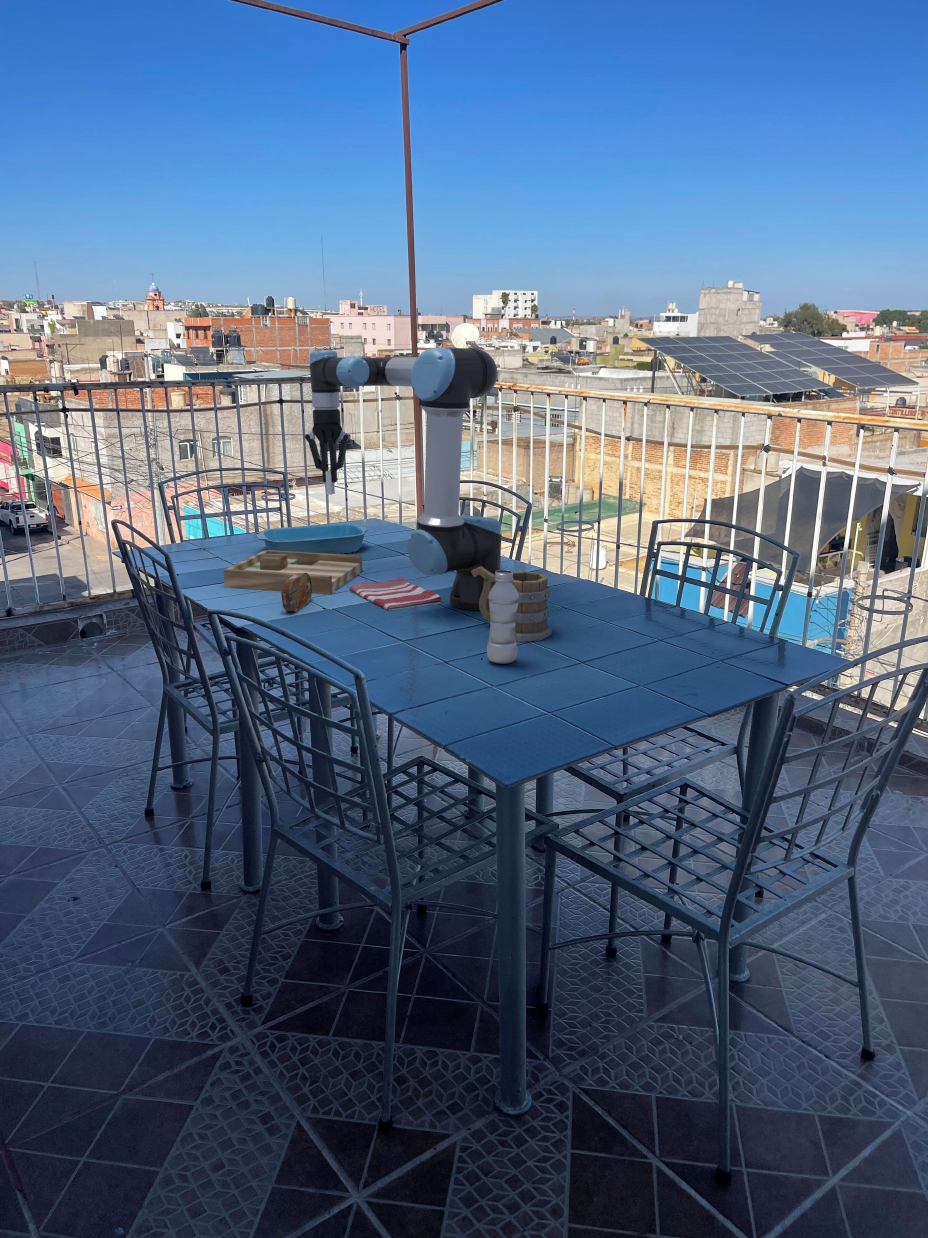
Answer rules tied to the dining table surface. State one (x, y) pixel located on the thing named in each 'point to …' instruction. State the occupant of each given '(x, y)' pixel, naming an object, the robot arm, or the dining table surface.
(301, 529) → the casserole dish
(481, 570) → the tankard
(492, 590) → the plastic bottle
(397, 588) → the dish towel
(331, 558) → the box
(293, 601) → the tin
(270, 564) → the walnut block
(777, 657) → the dining table surface
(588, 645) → the dining table surface
